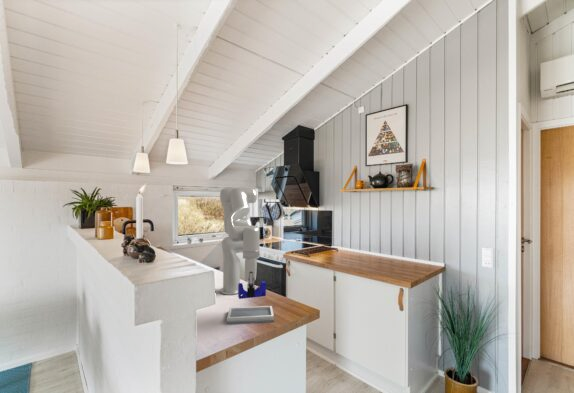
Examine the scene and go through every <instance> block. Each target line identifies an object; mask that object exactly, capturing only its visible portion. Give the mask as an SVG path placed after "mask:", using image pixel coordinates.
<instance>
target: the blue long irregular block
mask: <svg viewBox="0 0 574 393" xmlns="http://www.w3.org/2000/svg"><path fill="white" fill-rule="evenodd" d="M243 285H244V284H243V283H242V282H240V283H238V294H237V298H238V299H239V300H243V299H244V300H245V299H250V298H251V299H253V298H259V297H261V298H262V297H266V296H267V283H266V281H265V280H262V281H260V285H259V286H258V287H256V289H255V297H247V290H246V289H245V288H244V286H243Z"/></svg>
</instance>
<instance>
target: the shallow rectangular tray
mask: <svg viewBox="0 0 574 393" xmlns="http://www.w3.org/2000/svg"><path fill="white" fill-rule="evenodd" d="M227 312H228V313H227V318H226V325H239V324H240V325H241V324H242V325H243V324H262V323H275V315H274V309H273V305H261V306H260V305H259V306H240V307H239V306H238V307H234V306H233V307H229V308H228V311H227Z"/></svg>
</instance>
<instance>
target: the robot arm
mask: <svg viewBox="0 0 574 393" xmlns="http://www.w3.org/2000/svg"><path fill="white" fill-rule="evenodd" d="M219 192H220V193H219V197H220V198H219V199H220V203H221V204H220V205H221V206H222V209H223V228H224V232H225V234H227V236H226V237H224V238H223V239H222V241H221V248H222V250H221V251H222V254H223V255H222V257H223V258H222V259H223V260H222V264H223V267H222V268H223V271H222V272H223V274H222V277H223V278H222V288H220V289H219V290H220V293H221V294H223V295H227V296H228V295H229V296H230V295H231V296H233V295H238V283H241V261H240V260H241V259H240V258H239V257H238V255H237V254H239V253H240V254H241V253H242V259H243V260H244V281H245V282H247V288H246V289H247V290H246V291H247V297H253V298H256V297H255V288H256V287H255V282H256V279H257V271H258V270H257V268H258V259H259V258H260V242H261V241H260V228H259V227H257V226H256V225H252V221H251V219H250V218H248V217H246V216H247V215H249V213H250V207H249V204H254V203H256V202H257V200H258V194H257V191H256V190H255V189H254V188H253V187H224V188H222V189H220V191H219Z"/></svg>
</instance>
